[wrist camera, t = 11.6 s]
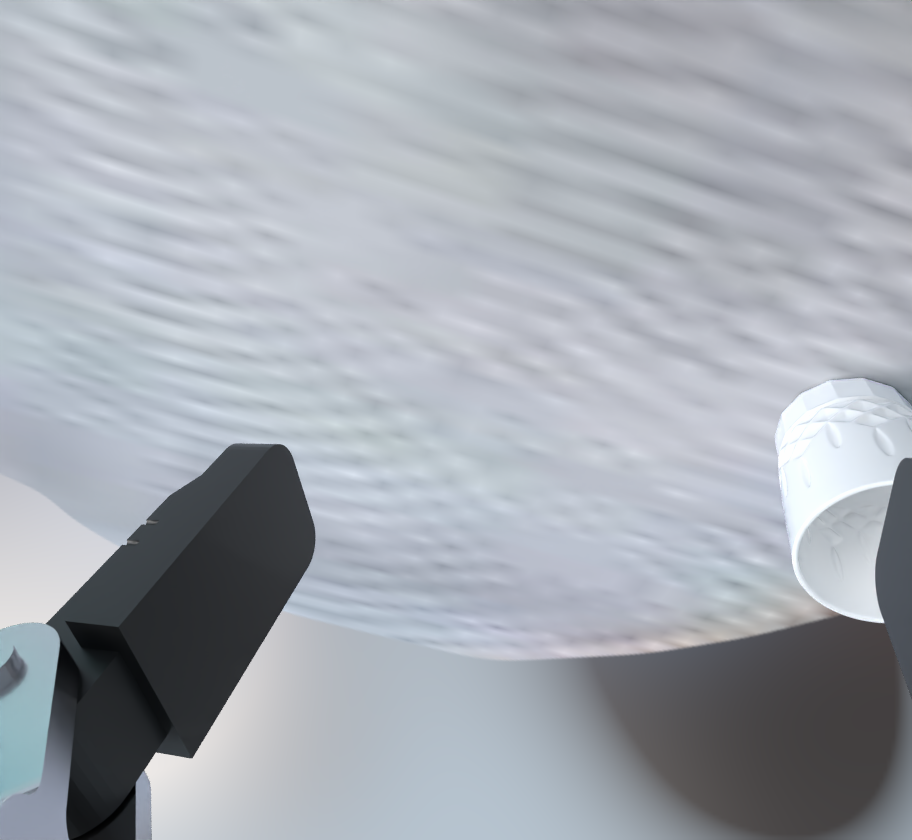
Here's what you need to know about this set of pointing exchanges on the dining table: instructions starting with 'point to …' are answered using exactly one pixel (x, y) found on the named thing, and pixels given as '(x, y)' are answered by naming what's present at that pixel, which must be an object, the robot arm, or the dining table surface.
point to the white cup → (841, 486)
